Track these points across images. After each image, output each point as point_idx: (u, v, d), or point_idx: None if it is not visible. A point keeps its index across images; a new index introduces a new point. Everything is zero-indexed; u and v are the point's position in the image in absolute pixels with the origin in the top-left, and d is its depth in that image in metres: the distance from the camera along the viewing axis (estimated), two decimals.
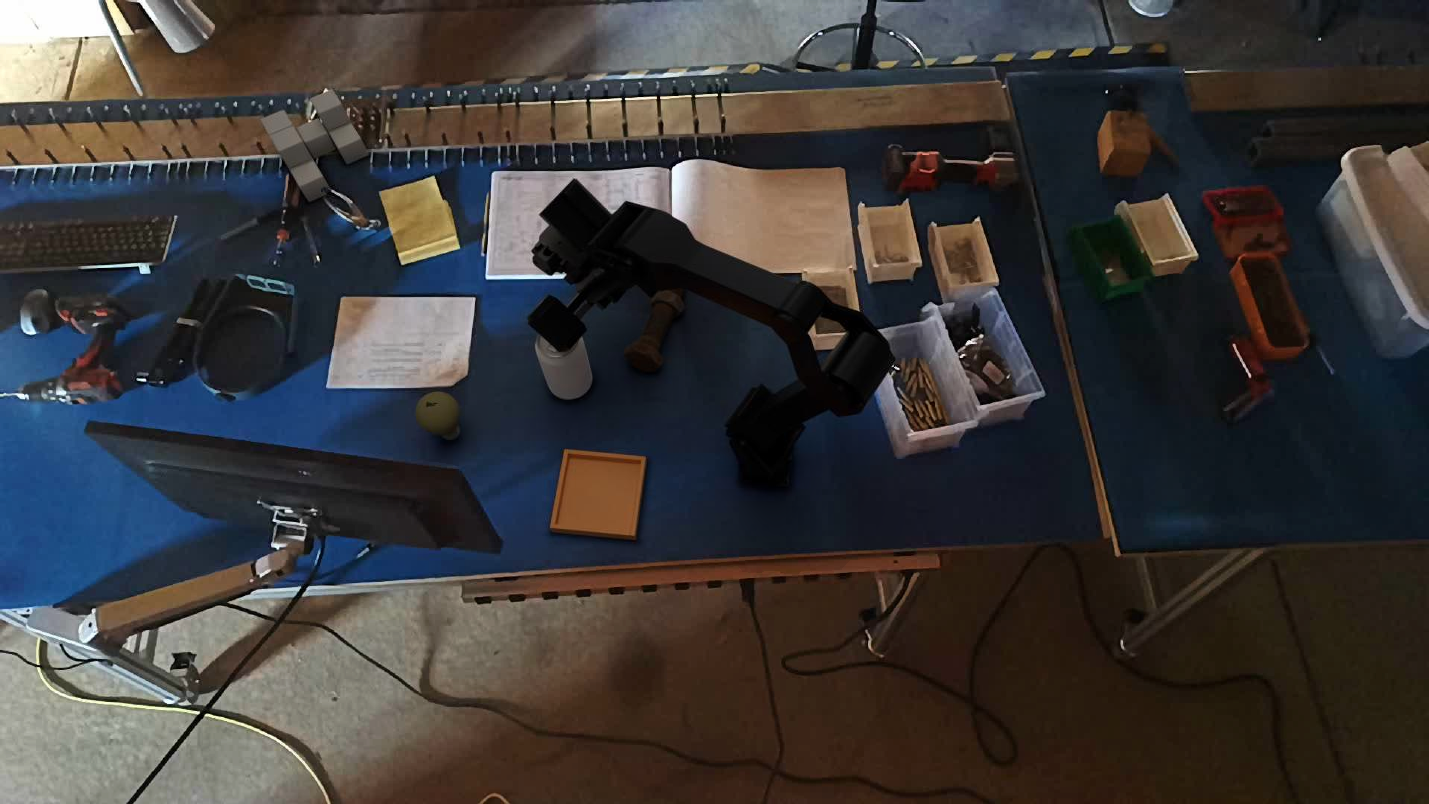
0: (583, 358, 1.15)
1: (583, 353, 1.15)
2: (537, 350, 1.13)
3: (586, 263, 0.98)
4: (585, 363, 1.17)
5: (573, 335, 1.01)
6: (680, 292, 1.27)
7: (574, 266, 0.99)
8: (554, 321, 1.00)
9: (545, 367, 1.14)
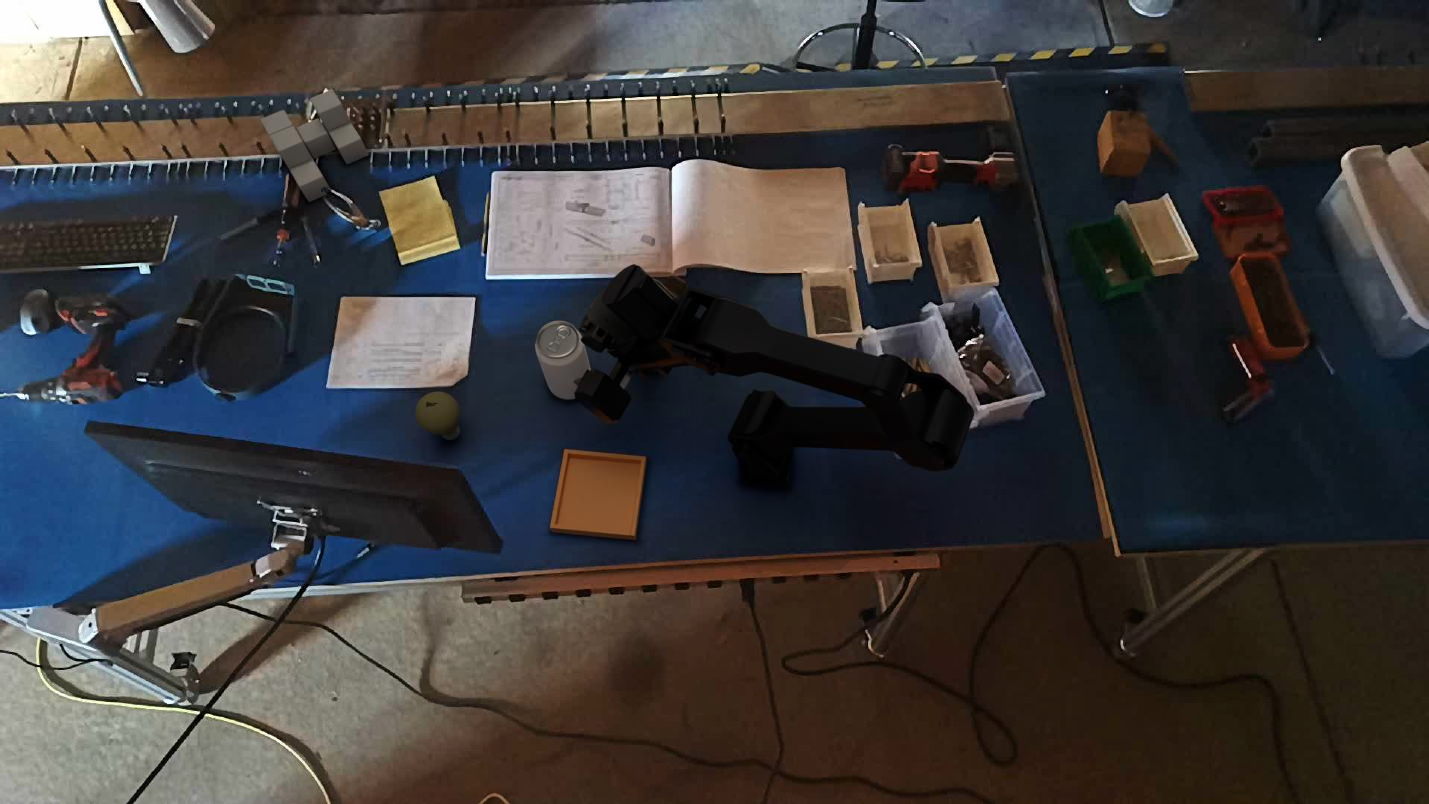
0: (583, 358, 1.15)
1: (583, 353, 1.15)
2: (537, 350, 1.13)
3: (639, 341, 0.99)
4: (585, 363, 1.17)
5: (622, 408, 1.02)
6: (680, 292, 1.27)
7: (624, 343, 1.00)
8: (605, 397, 1.01)
9: (545, 367, 1.14)
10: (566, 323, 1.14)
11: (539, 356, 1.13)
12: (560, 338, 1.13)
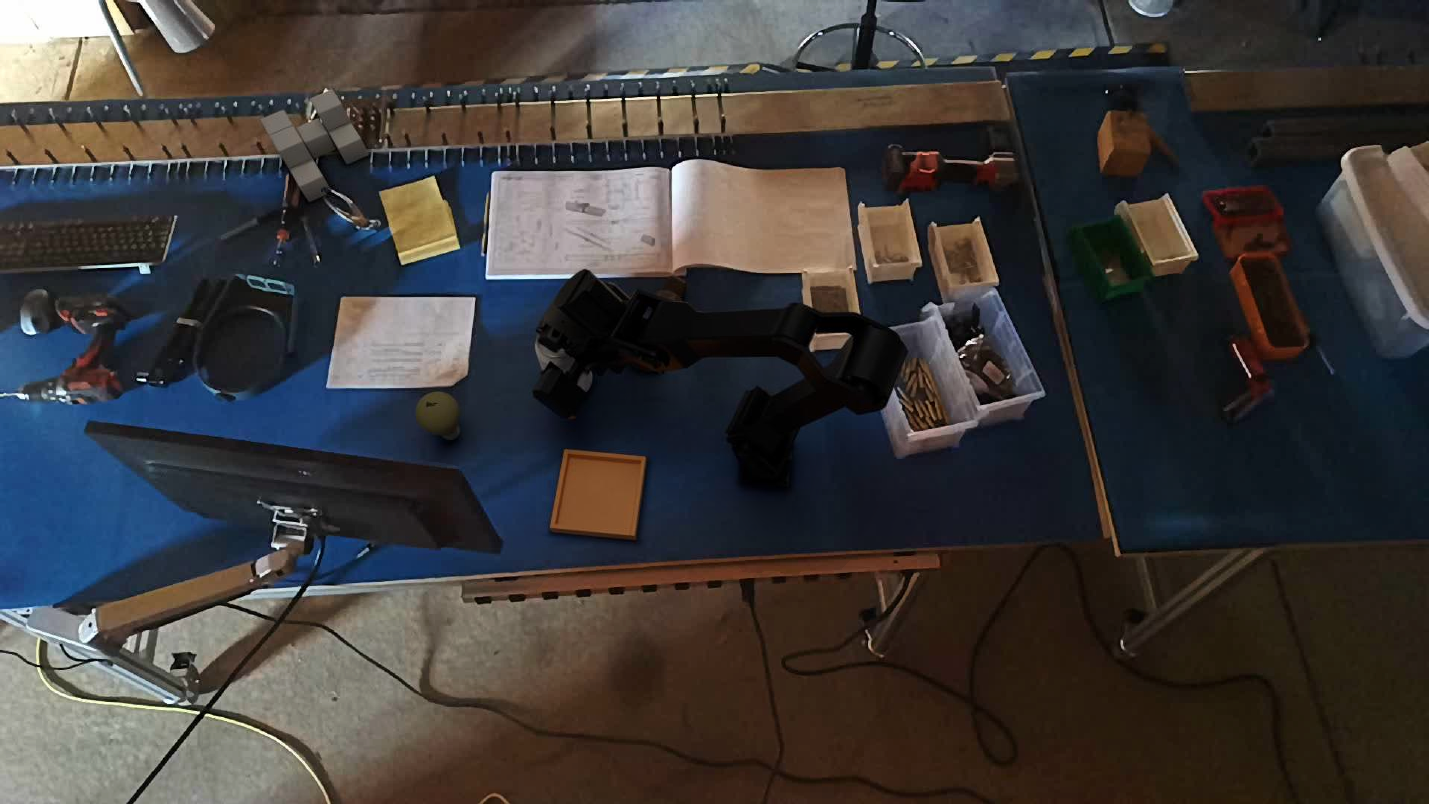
0: None
1: None
2: (537, 350, 1.13)
3: (593, 341, 1.05)
4: None
5: (578, 405, 1.08)
6: (680, 292, 1.27)
7: (579, 343, 1.05)
8: (561, 394, 1.06)
9: (545, 367, 1.14)
10: None
11: (539, 356, 1.13)
12: None
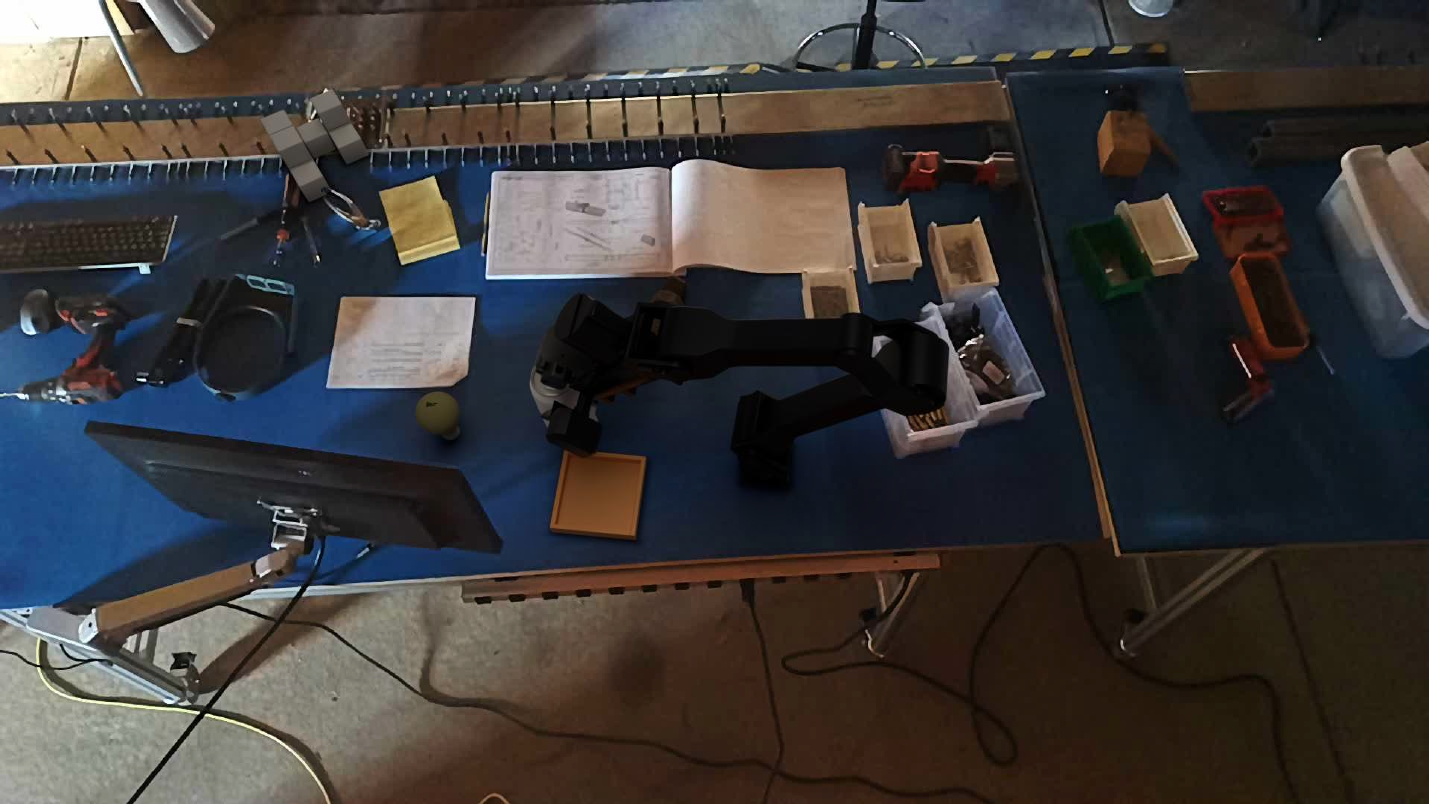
0: None
1: None
2: (534, 392, 1.05)
3: (599, 368, 0.97)
4: None
5: (597, 439, 1.01)
6: (680, 292, 1.27)
7: (584, 373, 0.98)
8: (578, 432, 0.99)
9: (546, 408, 1.06)
10: None
11: (538, 398, 1.05)
12: None
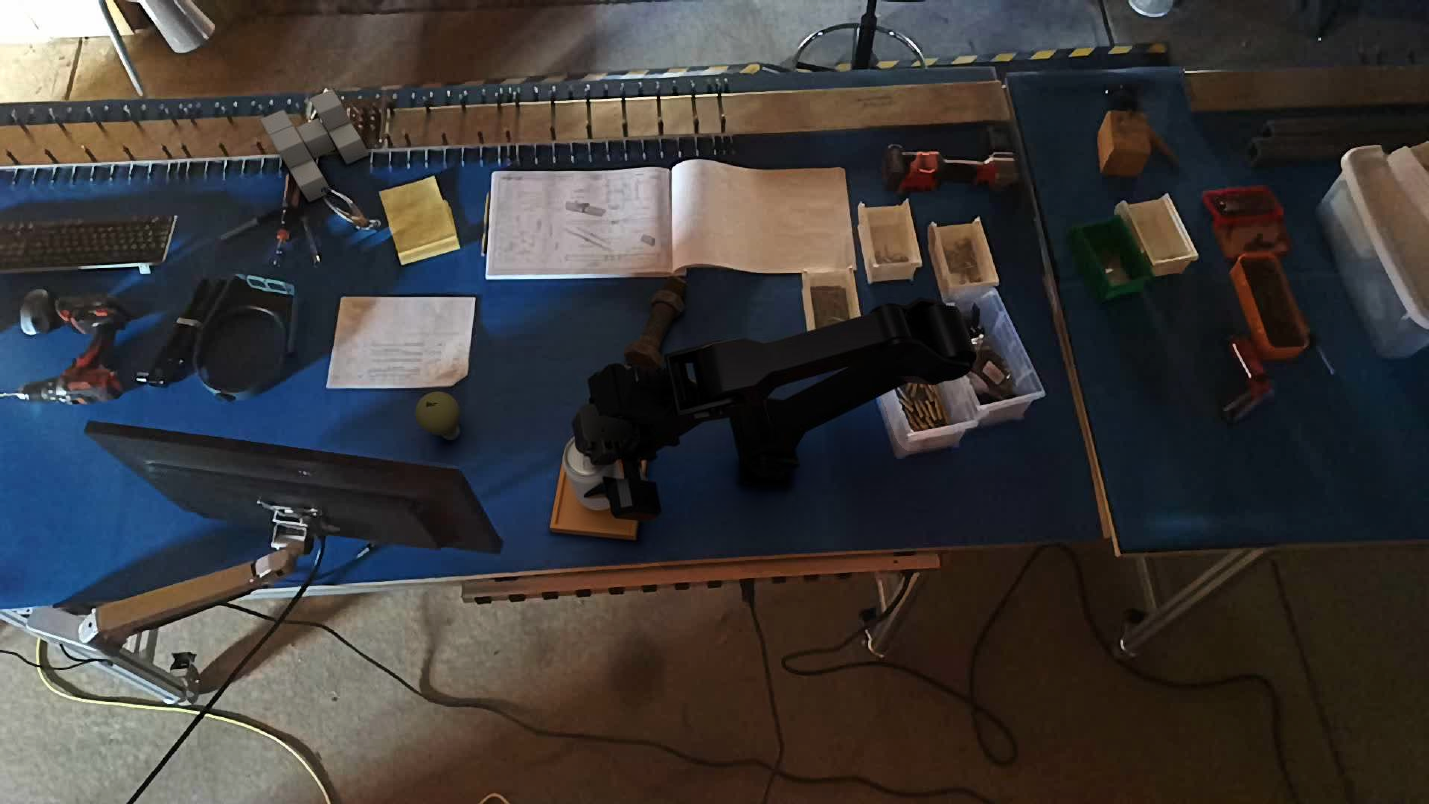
0: None
1: None
2: (574, 476, 1.02)
3: (643, 430, 0.96)
4: None
5: (658, 498, 0.99)
6: (680, 292, 1.27)
7: (629, 440, 0.96)
8: (641, 498, 0.97)
9: (589, 487, 1.03)
10: None
11: (580, 481, 1.02)
12: None
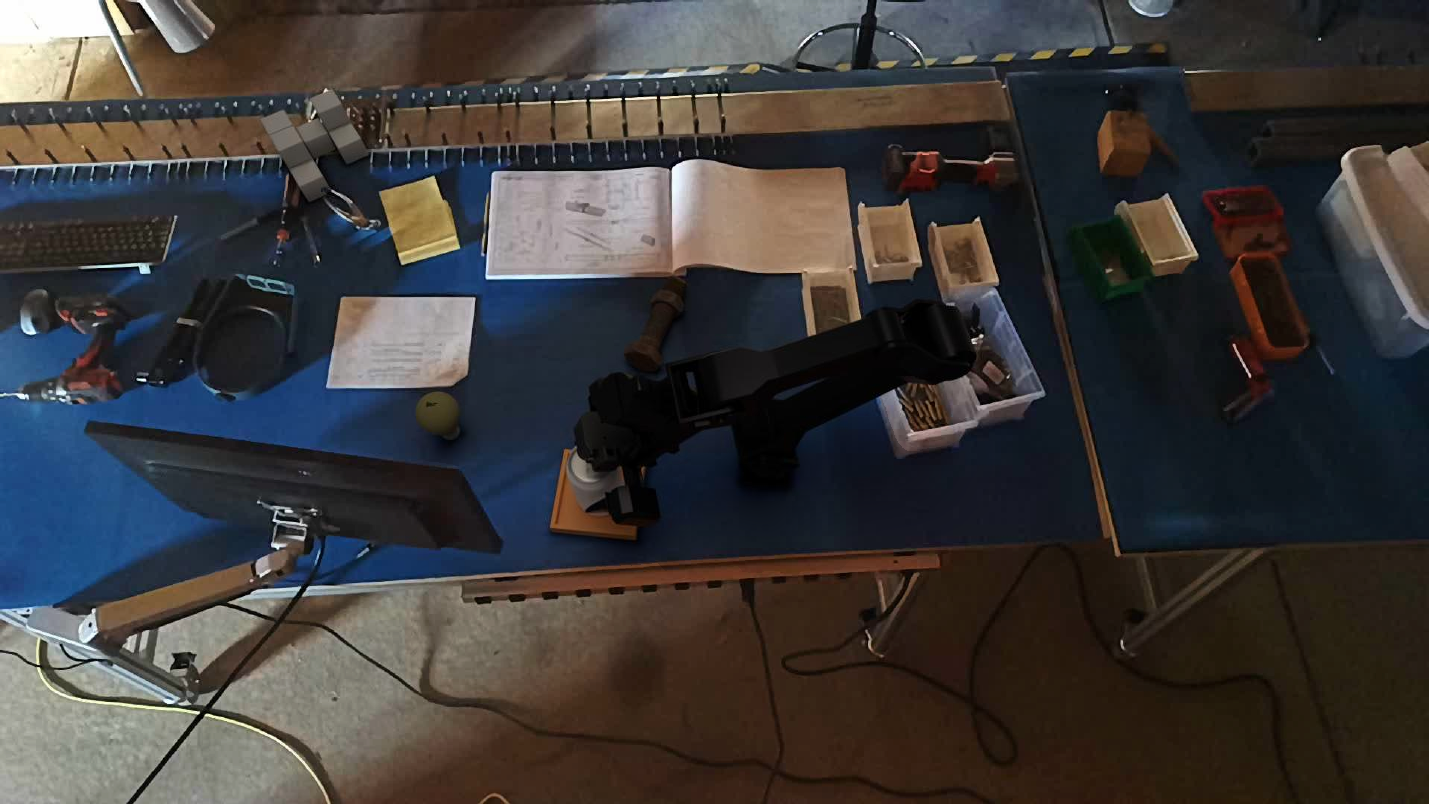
0: None
1: None
2: (578, 484, 1.04)
3: (644, 437, 0.98)
4: None
5: (658, 504, 1.01)
6: (680, 292, 1.27)
7: (630, 447, 0.98)
8: (641, 504, 0.99)
9: (592, 494, 1.06)
10: None
11: (584, 488, 1.04)
12: None
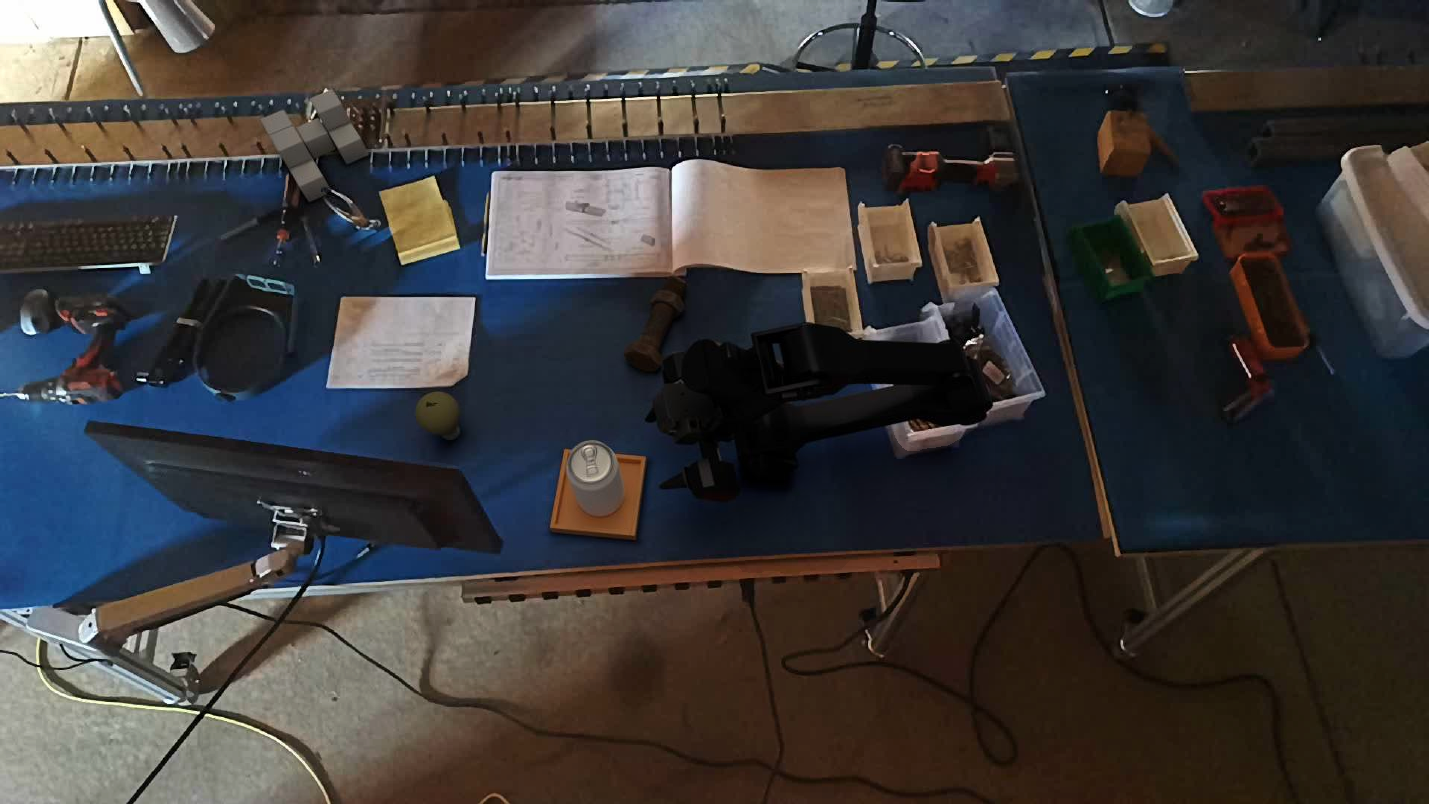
0: None
1: None
2: (578, 484, 1.04)
3: (725, 410, 0.96)
4: None
5: None
6: (680, 292, 1.27)
7: (711, 420, 0.96)
8: (722, 478, 0.97)
9: (592, 494, 1.06)
10: (586, 442, 1.06)
11: (583, 488, 1.04)
12: (591, 459, 1.05)
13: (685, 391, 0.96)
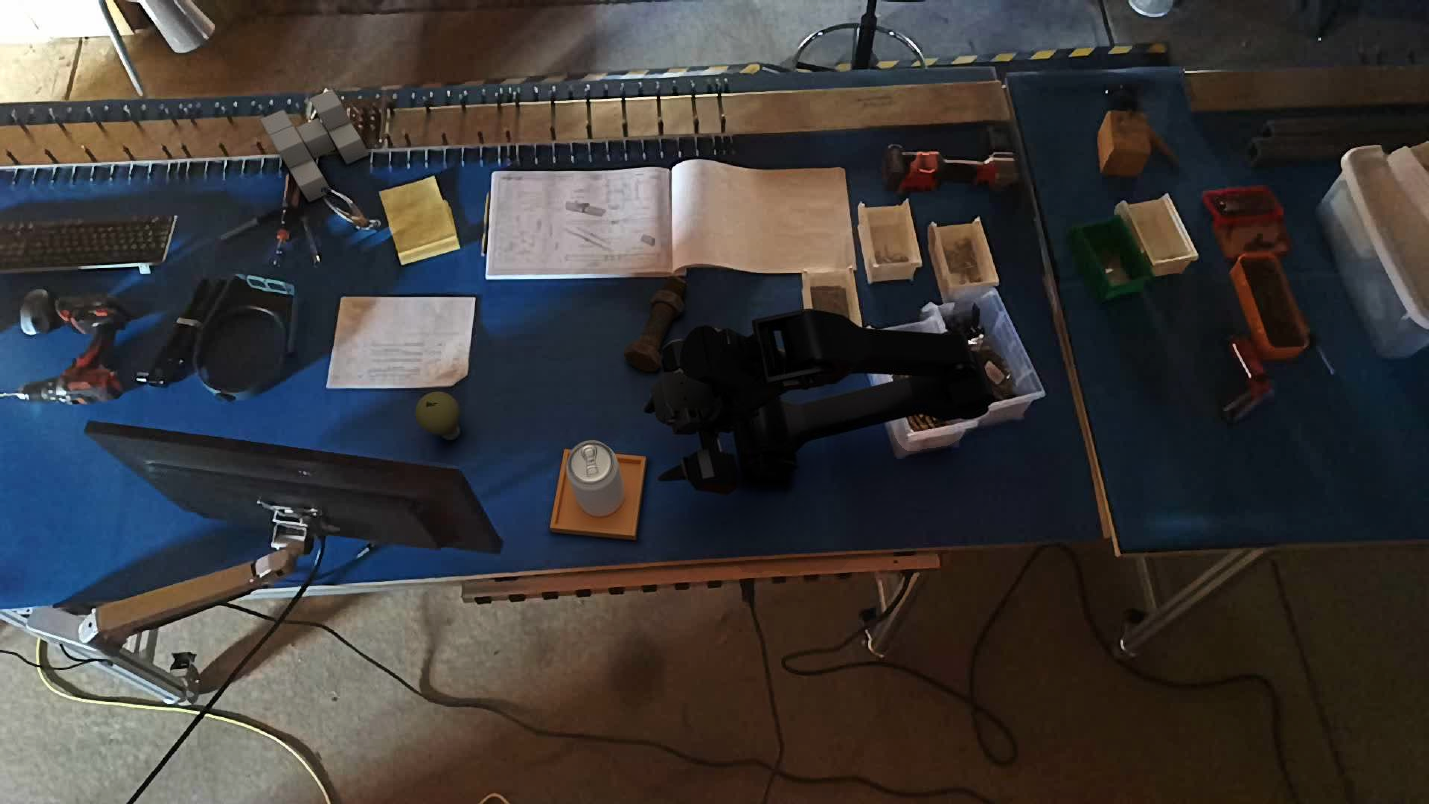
0: None
1: None
2: (578, 484, 1.04)
3: (726, 399, 0.93)
4: None
5: (737, 470, 0.97)
6: (680, 292, 1.27)
7: (711, 410, 0.94)
8: (722, 469, 0.95)
9: (592, 494, 1.06)
10: (586, 442, 1.06)
11: (583, 488, 1.04)
12: (591, 459, 1.05)
13: (684, 380, 0.94)
